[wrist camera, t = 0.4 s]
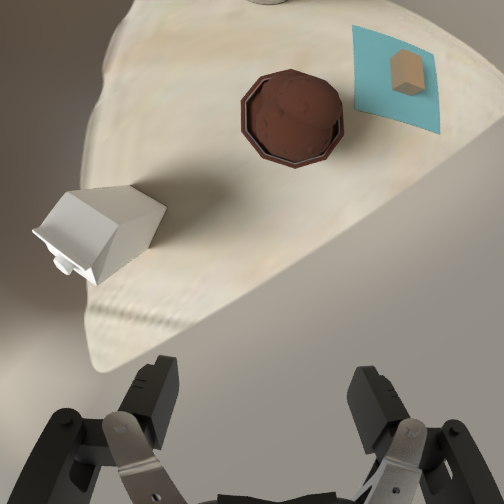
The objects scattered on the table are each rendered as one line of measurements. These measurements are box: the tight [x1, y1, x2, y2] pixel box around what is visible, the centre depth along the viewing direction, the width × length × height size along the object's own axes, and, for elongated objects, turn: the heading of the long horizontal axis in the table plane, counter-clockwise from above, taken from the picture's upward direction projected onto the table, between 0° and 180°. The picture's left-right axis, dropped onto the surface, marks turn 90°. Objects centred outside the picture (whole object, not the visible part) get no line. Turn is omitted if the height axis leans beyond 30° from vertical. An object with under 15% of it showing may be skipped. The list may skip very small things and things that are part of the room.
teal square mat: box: [352, 25, 440, 135], centre depth 29 cm, size 16×16×5 cm
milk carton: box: [32, 185, 167, 286], centre depth 28 cm, size 7×7×19 cm
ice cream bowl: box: [241, 69, 344, 169], centre depth 27 cm, size 11×11×15 cm
